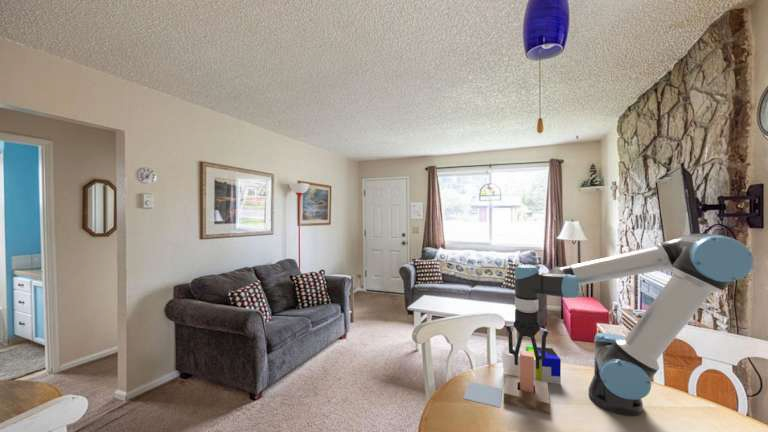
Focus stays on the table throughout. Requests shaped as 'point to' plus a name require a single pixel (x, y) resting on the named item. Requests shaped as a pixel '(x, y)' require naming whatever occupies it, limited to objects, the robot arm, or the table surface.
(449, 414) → the table surface
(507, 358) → the white cup
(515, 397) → the pocket block
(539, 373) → the puzzle toy
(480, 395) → the mat
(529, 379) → the peg
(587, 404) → the table surface
